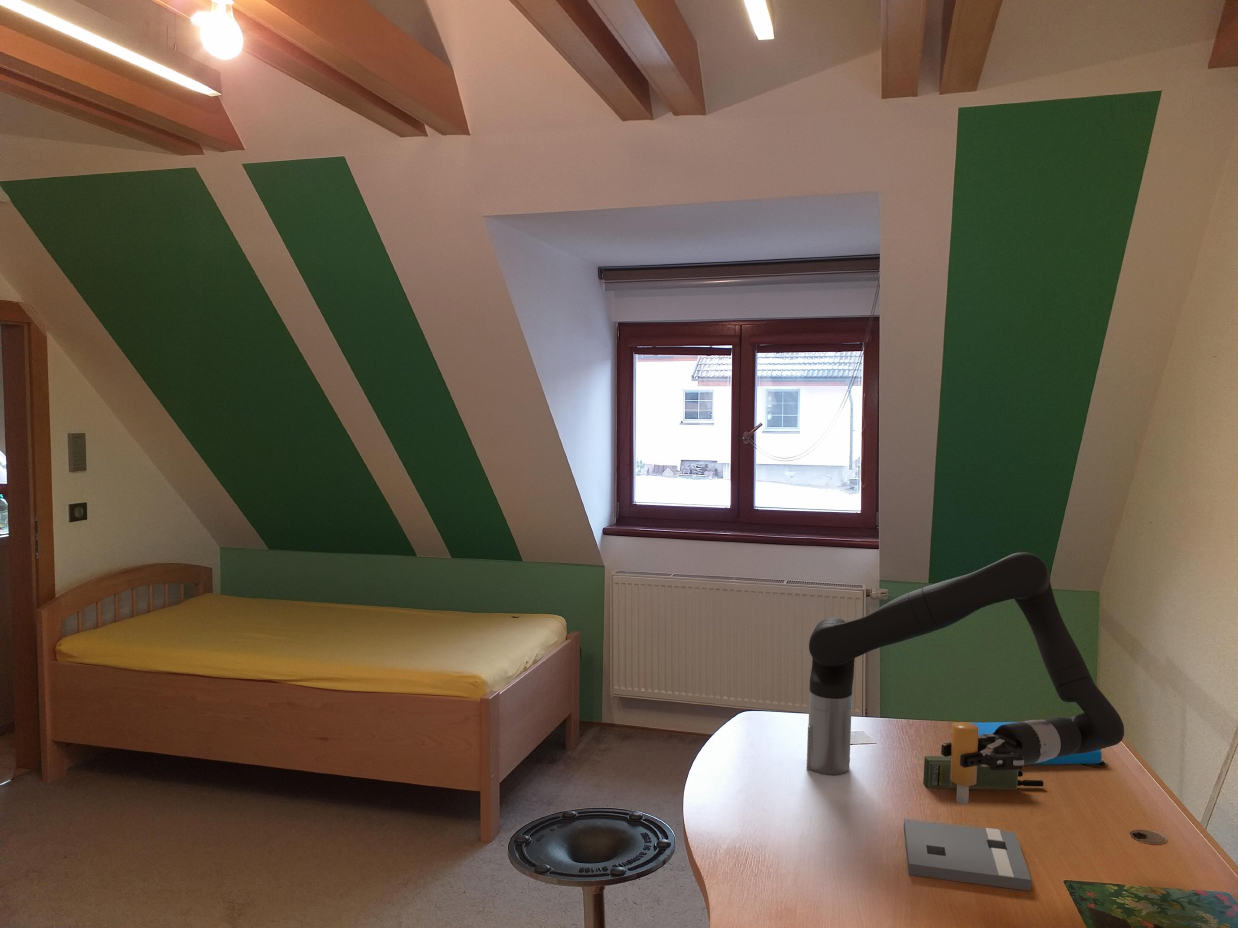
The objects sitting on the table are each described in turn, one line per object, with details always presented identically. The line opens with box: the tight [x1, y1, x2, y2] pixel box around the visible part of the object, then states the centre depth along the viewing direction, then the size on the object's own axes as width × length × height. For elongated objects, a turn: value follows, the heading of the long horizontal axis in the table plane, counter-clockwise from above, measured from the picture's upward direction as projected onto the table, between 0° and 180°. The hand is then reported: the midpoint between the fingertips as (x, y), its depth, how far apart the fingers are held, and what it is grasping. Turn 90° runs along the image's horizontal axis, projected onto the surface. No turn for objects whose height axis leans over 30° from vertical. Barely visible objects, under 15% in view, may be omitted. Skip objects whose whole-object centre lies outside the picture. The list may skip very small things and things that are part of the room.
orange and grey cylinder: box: [950, 721, 978, 805], centre depth 167 cm, size 4×4×14 cm
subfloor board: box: [903, 818, 1032, 892], centre depth 169 cm, size 20×17×2 cm
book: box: [970, 721, 1102, 766], centre depth 218 cm, size 17×4×25 cm
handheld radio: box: [922, 755, 1045, 791], centre depth 198 cm, size 7×3×25 cm
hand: (952, 755), depth 166 cm, fingers closed on orange and grey cylinder, 4 cm apart
